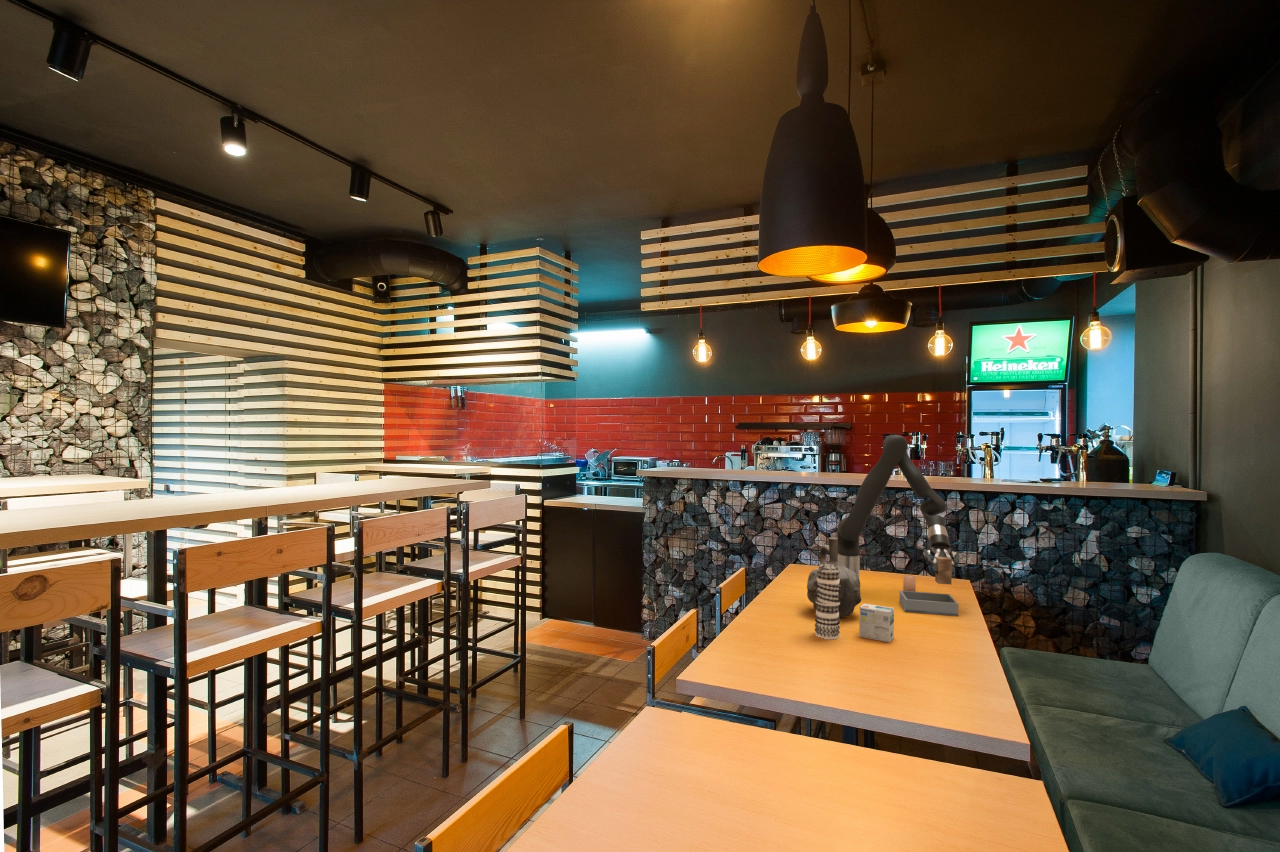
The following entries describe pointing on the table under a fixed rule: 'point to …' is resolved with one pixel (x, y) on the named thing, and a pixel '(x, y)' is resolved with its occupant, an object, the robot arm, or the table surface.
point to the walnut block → (944, 570)
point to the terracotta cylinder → (909, 583)
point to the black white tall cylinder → (827, 602)
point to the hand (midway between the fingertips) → (944, 573)
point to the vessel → (847, 582)
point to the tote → (928, 603)
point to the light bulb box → (876, 622)
